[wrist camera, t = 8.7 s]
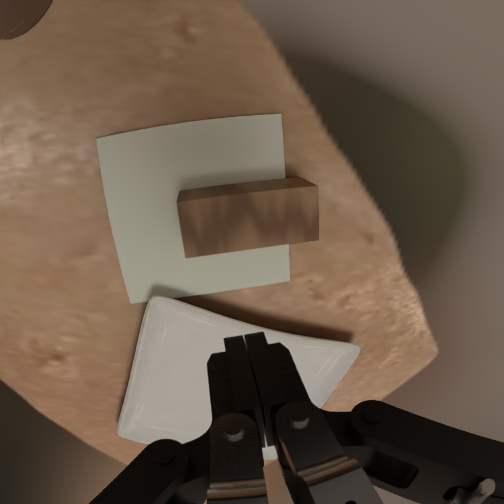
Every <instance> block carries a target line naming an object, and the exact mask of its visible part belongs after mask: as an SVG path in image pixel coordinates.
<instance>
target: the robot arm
mask: <svg viewBox="0 0 504 504" xmlns="http://www.w3.org/2000/svg"><path fill="white" fill-rule="evenodd" d="M51 1H52V0H0V39H4V40H5V39H12V38H15V37H17V36H19V35H21V34H23V33H25V32H26V31H27V30H29V29H30V28H31V27H32V26H33V25H35V24H36V23H37V22H38V21H39V19H40V18H41V17H42V16H43V15H44V13H45V12H46V10H47V9H48V7H49V5H50V3H51ZM223 339H224V345H225V352H219V353H212V354H211V355H210V358H209V360H208V362H207V374H208V383H209V394H210V403H211V412H212V422H211V425H210V427H209V429H208V430H207V431H206V432H205V433H204V434H203V435H202V436H200V437H198V438H196V439H194V440H191V441H189V442H186V443H184V444H182V443H180V442H178V441H176V440H173V439H159V440H156V441H154V442H152V443H150V444H149V445H148V446H147V447H146V448H145V449H144V450H143V451H142V452H141V453H140V454H139V455H138V456H137V457H136V458H135V459H134V460H133V461H132V462H131V463H130V464H129V465H128V466H127V467H126V468H125V469H124V470H123V471H122V472H121V473H120V474H119V475H118V476H117V477H116V478H115V479H114V480H113V481H112V482H111V483H110V484H109V485H108V486H107V487H106V488H105V489H104V490H103V491H102V492H101V493H100V494H99V495H98V496H96V497H95V498H94V499H93V500H92V501H91V502H90V503H89V504H203V503H204V502H205V500H206V499H207V504H269V503H268V496H267V490H266V484H265V477H264V471H263V467H264V459H263V451H262V448H266V446H265V439H266V443H267V446H268V447H270V446H275V449H276V453H277V457H278V465H279V468H280V470H281V473H282V476H283V478H284V480H285V483H286V486H287V488H288V491H289V493H290V495H291V498H292V500H293V502H294V504H384V503H383V502H382V500H381V498H380V497H379V495H378V493H377V492H376V490H375V488H374V487H373V485H374V486H377V487H379V488H382V489H384V490H386V491H389V492H391V493H394V494H396V495H399V496H401V497H404V498H407V499H409V500H412V501H415V502H417V503H420V504H504V443H503V442H499V441H496V440H492V439H489V438H485V437H482V436H479V435H475V434H472V433H469V432H466V431H463V430H459V429H456V428H453V427H450V426H447V425H444V424H441V423H438V422H435V421H433V420H429V419H427V418H424V417H421V416H418V415H416V414H413V413H410V412H408V411H405V410H402V409H399V408H397V407H394V406H392V405H389V404H386V403H384V402H381V401H377V400H367V401H363V402H361V403H359V404H357V405H356V406H355V407H354V408H353V409H352V411H351V412H330V411H325V410H322V409H320V408H318V407H317V406H316V405H314V404H313V403H312V401H311V400H310V398H309V396H308V393H307V391H306V389H305V386H304V384H303V382H302V379H301V377H300V374H299V372H298V370H297V367H296V365H295V363H294V361H293V358H292V356H291V353H290V351H289V349H288V348H286V347H285V346H284V345H283V344H282V343H280V342H277V343H272V344H268V342H267V340H266V337H265V334H264V332H263V331H262V332H257V333H251V334H245V335H244V338H243V335H239V336H233V337H226V338H223ZM244 341H245V342H244ZM264 435H265V436H264Z"/></svg>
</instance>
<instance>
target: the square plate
mask: <svg viewBox="0 0 504 504" xmlns="http://www.w3.org/2000/svg"><path fill="white" fill-rule="evenodd" d="M262 331H263V332H264V334H265V337H266V340H267V342H268V344H272V343H277V342H280V343H282V344H283V345H284V346H285V347H286V348H288V349H289V351H290V353H291V356H292V358H293V361H294V363H295V365H296V367H297V370H298V372H299V374H300V377H301V379H302V382H303V384H304V386H305V389H306V391H307V393H308V396H309V398H310V400H311V401H312V403H313V404H314V405H316V406H317V407H318V408H321V406H322V405H323V404H324V403H325V401H326V400H327V399H328V397H329V396H330V395H331V393H332V392H333V390H334V389H335V388H336V386H337V385H338V384H339V382H340V381H341V379H342V378H343V376H344V375H345V374H346V372H347V371H348V369H349V368H350V366H351V365H352V363H353V362H354V360H355V359H356V357H357V356H358V354H359V352H360V350H361V347H360V346H359V345H356V344H352V343H347V342H341V341H334V340H327V339H320V338H313V337H307V336H301V335H295V334H290V333H286V332H281V331H276V330H272V329H267V328H263V327H259V326H256V325H252V324H249V323H245V322H242V321H238V320H235V319H232V318H228V317H225V316H222V315H219V314H216V313H213V312H210V311H207V310H205V309H202V308H199V307H196V306H193V305H190V304H187V303H185V302H181V301H178V300H175V299H172V298H169V297H164V296H160V295H155V296H152V297H151V298H150V299H149V301H148V304H147V306H146V309H145V313H144V316H143V320H142V324H141V328H140V333H139V337H138V341H137V346H136V351H135V355H134V359H133V364H132V369H131V373H130V378H129V382H128V386H127V390H126V394H125V399H124V402H123V406H122V410H121V413H120V417H119V421H118V425H117V435H118V436H120V437H122V438H126V439H130V440H133V441H137V442H142V443H146V444H150V443H152V442H154V441H156V440H159V439H173V440H176V441H178V442H180V443H182V444H184V443H186V442H189V441H191V440H194V439H196V438H198V437H200V436H202V435H203V434H204V433H205V432H206V431H207V430H208V429H209V427H210V425H211V422H212V412H211V403H210V394H209V383H208V374H207V362H208V360H209V358H210V355H211V354H212V353H219V352H225V345H224V339H223V338H226V337H233V336H239V335H243V338H244V335H245V334H251V333H257V332H262ZM244 342H245V341H244ZM264 436H265V435H264ZM265 446H266V448H262V451H263V459H267V460H269V459H277V458H278V457H277V453H276V449H275V446H270V447H268V446H267V443H266V439H265Z"/></svg>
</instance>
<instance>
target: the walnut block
mask: <svg viewBox="0 0 504 504" xmlns="http://www.w3.org/2000/svg"><path fill="white" fill-rule="evenodd" d="M176 203H177V210H178V216H179V223H180V229H181V235H182V241H183V247H184V253H185V259H186V258H193V257H200V256H207V255H214V254H221V253H229V252H236V251H243V250H250V249H257V248H265V247H272V246H279V245H286V244H294V243H301V242H308V241H315V240H319V209H318V186H317V185H315V184H313V183H311V182H309V181H307V180H305V179H303V178H301V177H294V178H283V179H272V180H262V181H252V182H243V183H235V184H226V185H218V186H210V187H203V188H195V189H188V190H181V191H179V194H178V198H177V202H176Z"/></svg>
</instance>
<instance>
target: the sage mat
mask: <svg viewBox="0 0 504 504" xmlns="http://www.w3.org/2000/svg"><path fill="white" fill-rule="evenodd" d="M96 142H97V150H98V157H99V164H100V170H101V176H102V182H103V188H104V194H105V199H106V204H107V209H108V214H109V219H110V224H111V229H112V233H113V238H114V242H115V246H116V250H117V255H118V259H119V263H120V267H121V270H122V274H123V278H124V282H125V285H126V289H127V293H128V296H129V300H130V303H140V302H148V301H149V299H150V298H151V297H152V296H155V295H160V296H164V297H169V298H179V297H186V296H194V295H201V294H208V293H215V292H222V291H229V290H236V289H242V288H249V287H256V286H262V285H268V284H275V283H281V282H287V281H290V267H289V244H286V245H279V246H272V247H265V248H257V249H250V250H243V251H236V252H229V253H221V254H214V255H207V256H200V257H193V258H186V259H185V253H184V247H183V241H182V235H181V229H180V223H179V216H178V210H177V203H176V202H177V198H178V194H179V191H181V190H188V189H195V188H203V187H210V186H218V185H226V184H235V183H243V182H252V181H262V180H272V179H283V178H285V163H284V147H283V133H282V119H281V114H266V115H251V116H238V117H227V118H217V119H208V120H200V121H192V122H184V123H177V124H171V125H164V126H158V127H152V128H146V129H141V130H135V131H130V132H125V133H120V134H115V135H111V136H106V137H101V138H97V139H96Z"/></svg>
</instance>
